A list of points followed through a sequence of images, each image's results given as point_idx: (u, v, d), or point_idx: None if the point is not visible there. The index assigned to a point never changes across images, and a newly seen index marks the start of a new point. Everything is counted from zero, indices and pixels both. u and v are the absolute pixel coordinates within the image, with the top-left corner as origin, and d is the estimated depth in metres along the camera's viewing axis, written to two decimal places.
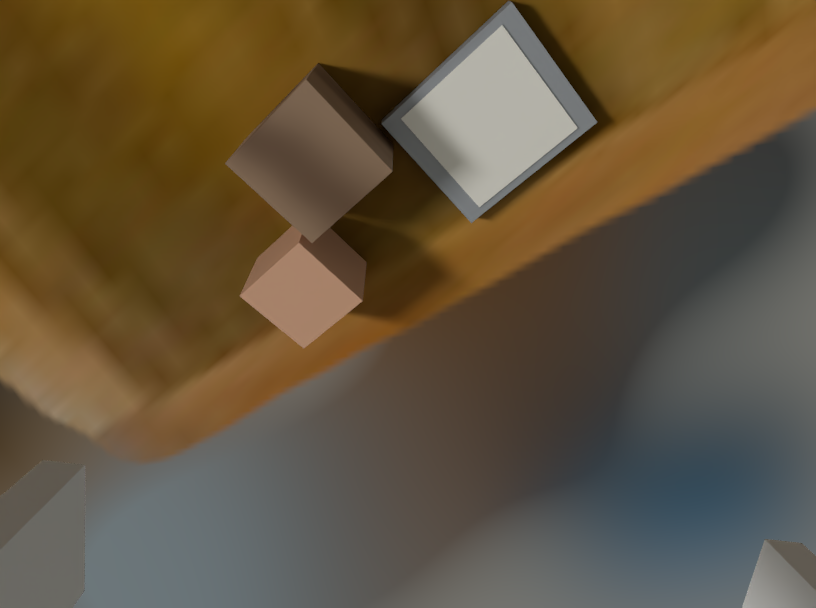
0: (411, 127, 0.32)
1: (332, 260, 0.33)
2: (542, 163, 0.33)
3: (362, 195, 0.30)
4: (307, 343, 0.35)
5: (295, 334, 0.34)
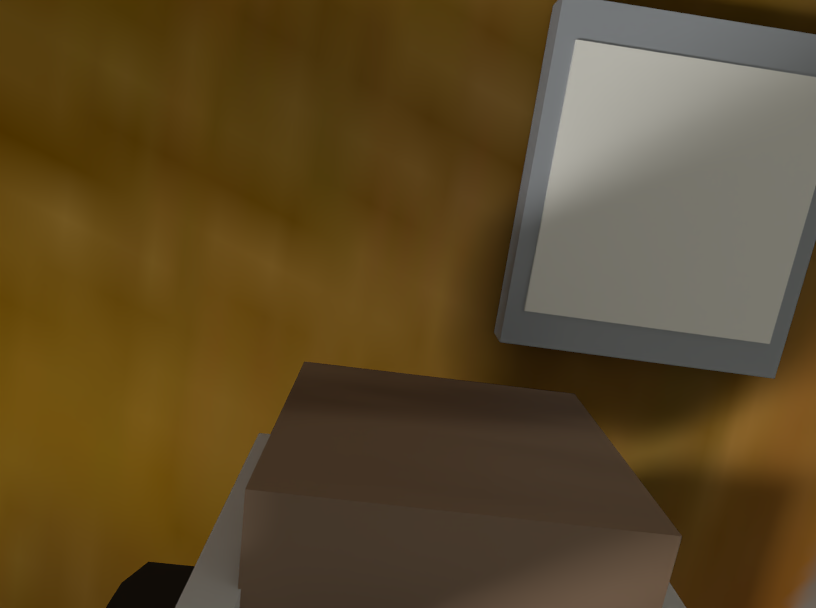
0: (549, 309, 0.16)
1: None
2: None
3: None
4: None
5: None
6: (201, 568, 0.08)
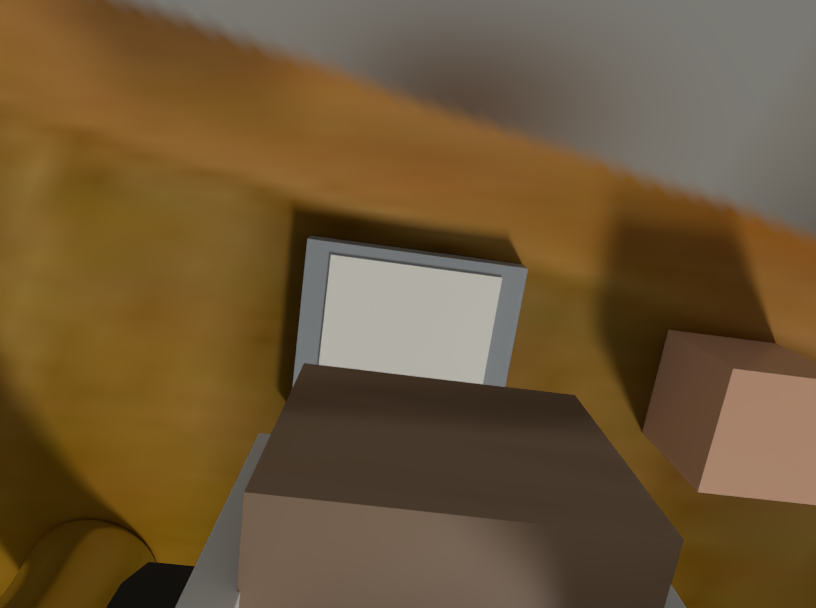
0: None
1: (696, 421, 0.22)
2: (397, 253, 0.23)
3: None
4: None
5: None
6: (201, 568, 0.08)
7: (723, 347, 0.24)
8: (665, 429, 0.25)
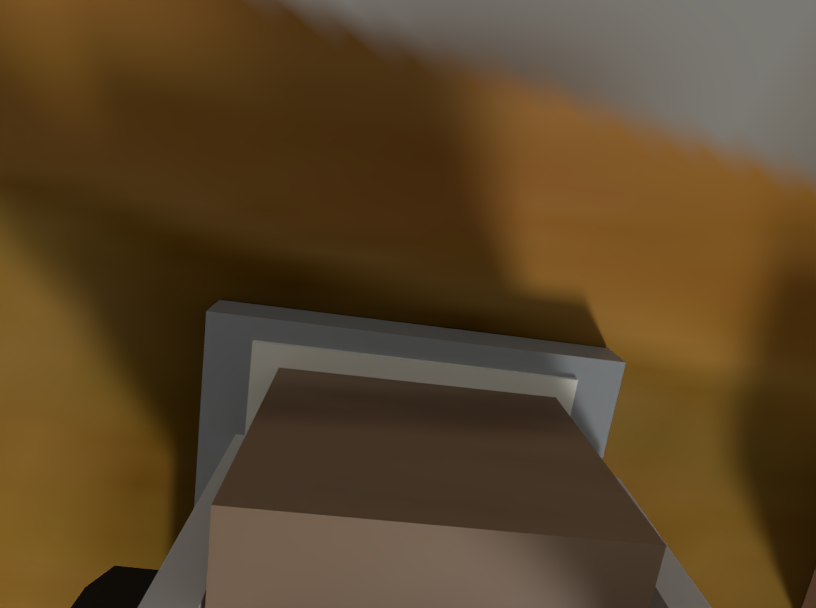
0: None
1: None
2: (380, 337, 0.12)
3: None
4: None
5: None
6: (165, 573, 0.08)
7: None
8: None
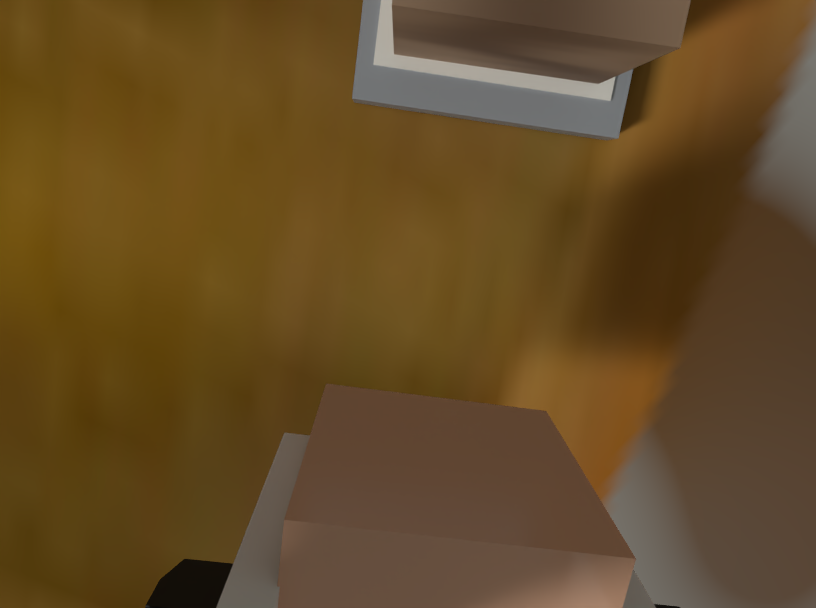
0: (398, 64, 0.17)
1: (445, 489, 0.09)
2: None
3: (584, 27, 0.12)
4: None
5: None
6: (240, 565, 0.08)
7: None
8: (369, 426, 0.11)
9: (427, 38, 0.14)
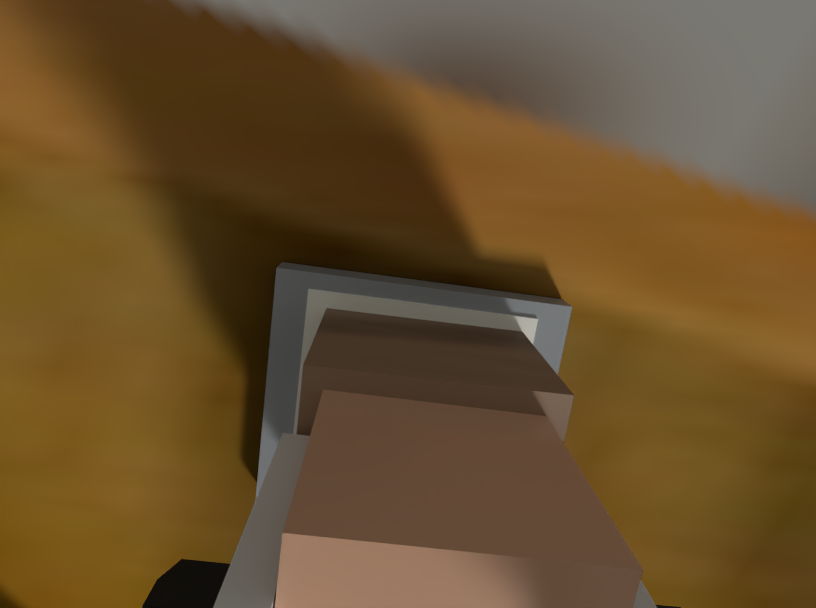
0: None
1: (446, 499, 0.09)
2: (397, 287, 0.17)
3: None
4: None
5: None
6: (237, 565, 0.08)
7: None
8: (367, 433, 0.11)
9: None
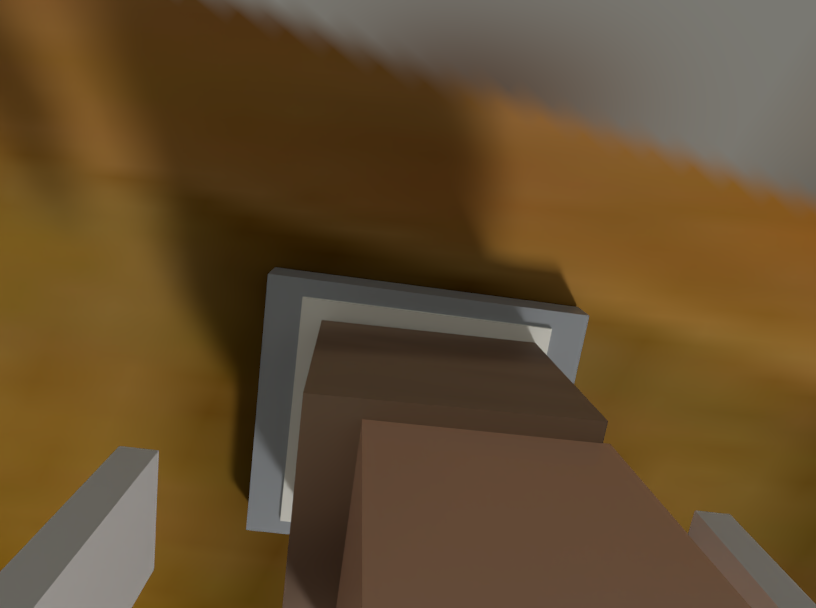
0: None
1: (538, 562, 0.08)
2: (399, 295, 0.16)
3: None
4: None
5: None
6: None
7: None
8: (426, 476, 0.09)
9: None
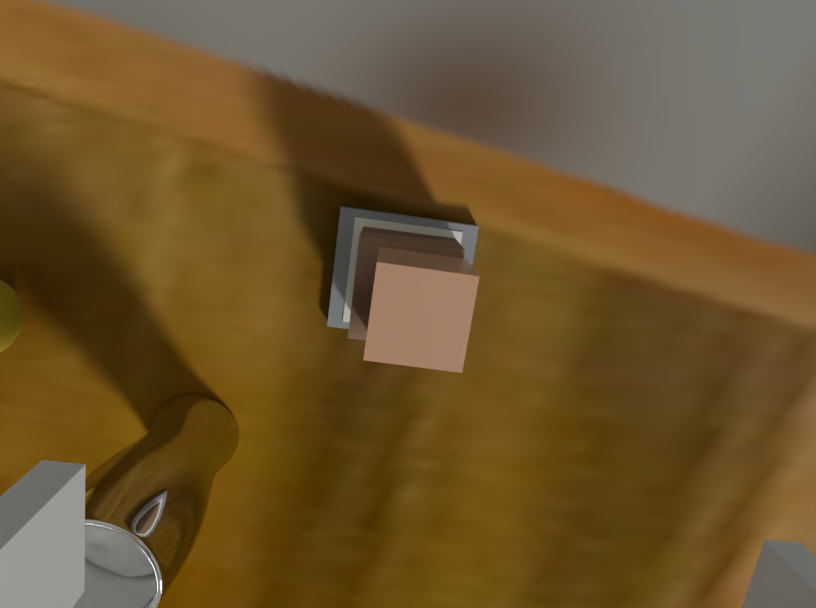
0: None
1: (424, 264, 0.29)
2: (396, 216, 0.37)
3: None
4: (461, 364, 0.29)
5: (443, 363, 0.29)
6: None
7: None
8: (397, 254, 0.31)
9: None
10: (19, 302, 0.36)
